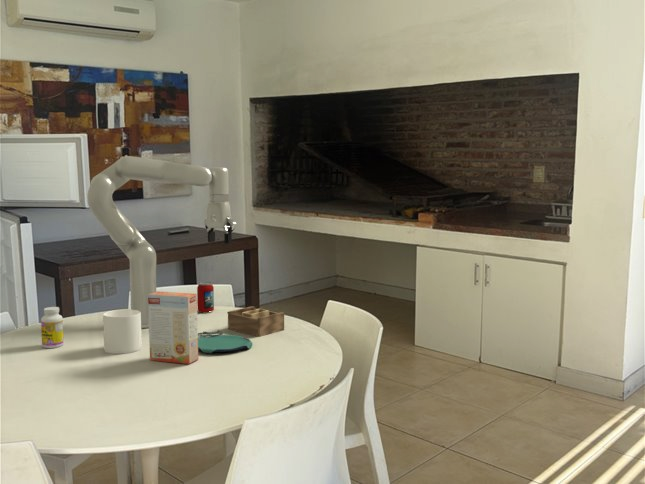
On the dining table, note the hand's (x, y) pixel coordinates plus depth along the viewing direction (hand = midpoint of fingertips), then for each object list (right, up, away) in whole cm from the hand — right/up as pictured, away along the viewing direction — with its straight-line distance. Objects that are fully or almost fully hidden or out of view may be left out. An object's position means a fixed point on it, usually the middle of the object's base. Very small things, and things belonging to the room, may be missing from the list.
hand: (219, 242), depth 245 cm
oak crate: (+16, -31, -15) cm, 38 cm away
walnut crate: (+16, -32, -15) cm, 39 cm away
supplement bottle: (-49, -35, -37) cm, 71 cm away
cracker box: (-5, -36, -53) cm, 65 cm away
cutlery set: (+4, -35, -34) cm, 49 cm away
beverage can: (-8, -29, +15) cm, 34 cm away
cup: (-25, -35, -41) cm, 59 cm away
